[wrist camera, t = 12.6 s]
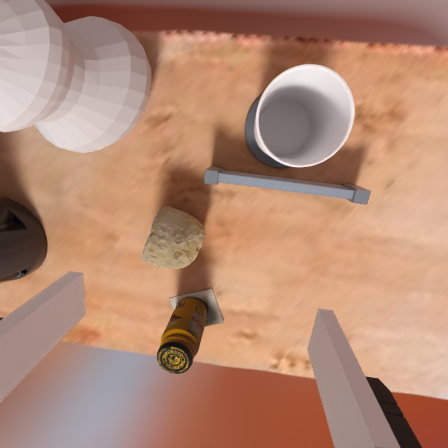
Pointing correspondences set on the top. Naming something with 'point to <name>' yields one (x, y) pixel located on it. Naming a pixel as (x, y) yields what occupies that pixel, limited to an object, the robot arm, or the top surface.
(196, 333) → the condiment
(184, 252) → the beige rough lump
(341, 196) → the grey barrier wall
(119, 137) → the soap bottle
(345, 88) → the cup
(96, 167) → the top surface
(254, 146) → the slate coaster
